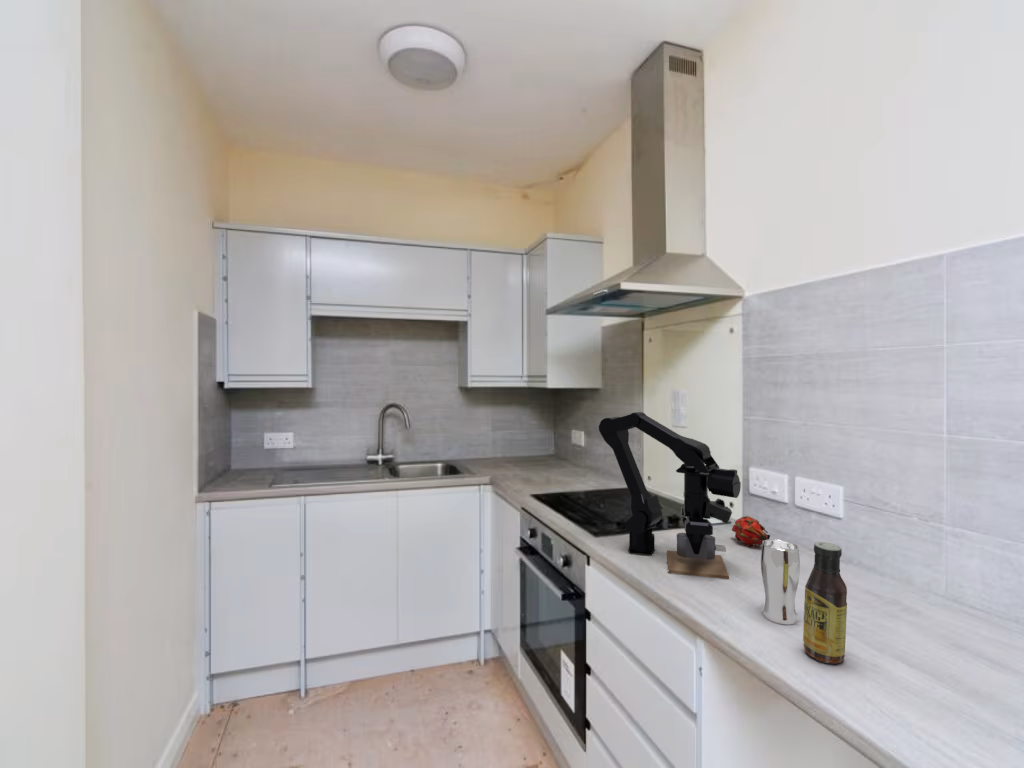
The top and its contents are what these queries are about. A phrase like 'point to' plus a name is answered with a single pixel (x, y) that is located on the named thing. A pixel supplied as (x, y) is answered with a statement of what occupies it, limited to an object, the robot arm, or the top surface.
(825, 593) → the sauce bottle
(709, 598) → the top surface
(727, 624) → the top surface
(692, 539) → the robot arm
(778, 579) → the beer glass
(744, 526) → the dragon fruit
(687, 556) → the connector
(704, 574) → the board
